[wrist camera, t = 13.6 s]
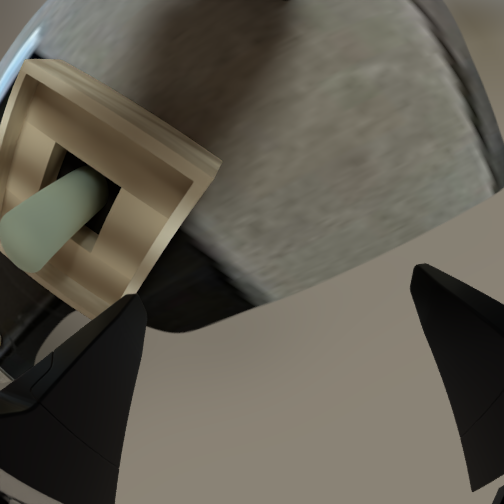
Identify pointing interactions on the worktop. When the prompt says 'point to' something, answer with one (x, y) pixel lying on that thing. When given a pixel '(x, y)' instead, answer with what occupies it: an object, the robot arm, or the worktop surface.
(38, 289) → the worktop surface
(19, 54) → the worktop surface
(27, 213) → the peg
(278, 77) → the worktop surface
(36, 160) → the open-top box
